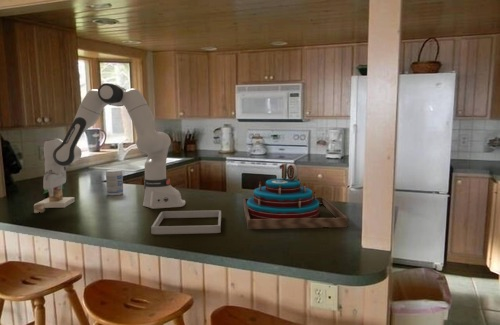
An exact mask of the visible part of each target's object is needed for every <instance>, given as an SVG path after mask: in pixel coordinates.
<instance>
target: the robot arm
mask: <svg viewBox="0 0 500 325" xmlns="http://www.w3.org/2000/svg"><path fill="white" fill-rule="evenodd" d="M106 106H113V107H123V106H124V108H125V109H126V111H127V113H128V115H129V118H130V119H131V122H132V124H133V126H134V129H135V132H136V133H135V134H136V137H137V138H136V147H137V149H138V151H139V152H141V153H143V154H146V155H147V157H146V160H145V162H144V179H143V180H144V181H143V187H144V198H143V202H142V207H147V208H150V209H152V210H153V209H165V208H166V209H168V208H181V207H185V205H186V200H185V199H182V195H181V192H180V191H179V189H176V188H175V187H173V186H172V185H171V179H170V178H167V158H168V154H169V147H170V146H171V144H172V143H171V140H172V139H171V137H170V135H169V134H168V133H165V132H163V131H157V130H156V125H155V116H154V115H153V113H152V110H151V108H150V106H149V104H148V102H147V100H146V99H145V97H144V96H143V93H141V91H140V90H139V89H137V88H129V89H125V88H124V87H122V86H120V85H119V84H116V83H113V82H104V83H102V84H101V85H100V86H99V87H98V89H95V88H94V89H89V90H88V91H87V93H86V94H85V96H84V97H83V99H82V100H81V103H80V104H79V107H78V109H77V111H76V114H75V116H74V119H73V122H72V124H71V126H70V127H69V129H68V131H67V133H66V135H65V137H64V139H63V140H62V139H60V138H57V137H55V138H51V139H47V140H45V141H44V142H43V143H44V144H43V157H44V173H45V174H44V175H43V182H42V184H43V186H42V187H43V190H44V189H48V191H49V192H48V195H49V194H50V197H53V196H54V193H53V188H54V187H57V186H58V190H62V191H63V189H62V187H63V186H62V185H63V184H64V185H65V183H66V181H67V166H69V165H71V164H73V163H75V162H77V161H79V160H80V159H81V157H82V150H81V148H80V146H78V145H77V144H78V143H79V141H80V139H81V136H82V135H83V134H84V133H85V132H86V131H87V130H88V129H90V128H91V127H94V125H95V124H96V123H97V122H98V120H99V119H100V117H101V115H102V112H103V110H104V108H105V107H106Z"/></svg>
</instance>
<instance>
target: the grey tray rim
mask: <svg viewBox="0 0 500 325" xmlns="http://www.w3.org/2000/svg"><path fill="white" fill-rule="evenodd" d="M186 218H187V219H188V218H190V219H192V218H218V220H217V224H214V225H212V224H210V225H207V224H206V225H170V226H169V225H166V226H165V225H161V223H162V221H163V220H164V219H186ZM150 227H151V228H150V229H151V232H150V233H151V235H183V234H185V235H189V234H218V233H222V232H221V231H222V230H221V229H222V210H169V211H168V210H164V211H161V212H160V213H159V214H158V216H157V218H156V219H155V220H154V222H153V224H152V225H151V226H150Z"/></svg>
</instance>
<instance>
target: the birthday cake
mask: <svg viewBox="0 0 500 325" xmlns="http://www.w3.org/2000/svg"><path fill="white" fill-rule="evenodd" d="M278 166H279V170H280V169H281V178H274V177H272V178H271V179H267V180H266V181H265V185H264V186H262V182H261V181H259V184H258V187H257V188H254V189H253V196H252V197H249V198H250V199H248V201H247V208H248V212H249V217H250V219H291V218H319V217H320V216H319V215H320V205H319V201H318V200H316V197H317V195H316V191H315V190H314V191H313V190H312V189H310V188H309V187H306V186H307V185H306V183H305V182H304V183H303V186H302V185H301V181H300V178H297V177H298V168H297V165H296V164H294V163H291V164H288V165H287V163H286V162H283V163H282V164H279V165H278ZM296 178H297V179H296ZM312 197H314V198H312Z"/></svg>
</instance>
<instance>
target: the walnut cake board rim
mask: <svg viewBox="0 0 500 325" xmlns="http://www.w3.org/2000/svg"><path fill="white" fill-rule="evenodd" d="M250 198H251V197H244V198H243V203H242V206H244V207H243V209H244V210H243V211H244V216H245V220H246V227H247V230H268V229H270V230H272V229H273V230H274V229H276V230H277V229H319V228H323V227H329V228H348V227H349V217H347V215H345V214H344V213H343V212H342V211H340V209H338V207H336V206H335V205H334V204H332V202H330V201H329V200H327V199H326V198H325V197H324V196H316V200H318V201H319V203H322V204H323V205H324V206H325V207H326V208H327V209H328V210H329V211H330V212H331V213H332V214H333V215H334V216H335V217H336V218H335V217H334V216H333V215H332V214H331V213H330V212H329V211H328V210H327V209H326V208H325V207H324V206H323V205H322V206H323V207H324V208H325V209H326V210H327V211H328V212H329V213H330V214H331V215H332V216H333V217H317V218H291V219H253V218H251V217H249V212H248V208H247V201H248V199H250ZM312 198H314V196H312ZM347 226H348V227H347Z"/></svg>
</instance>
